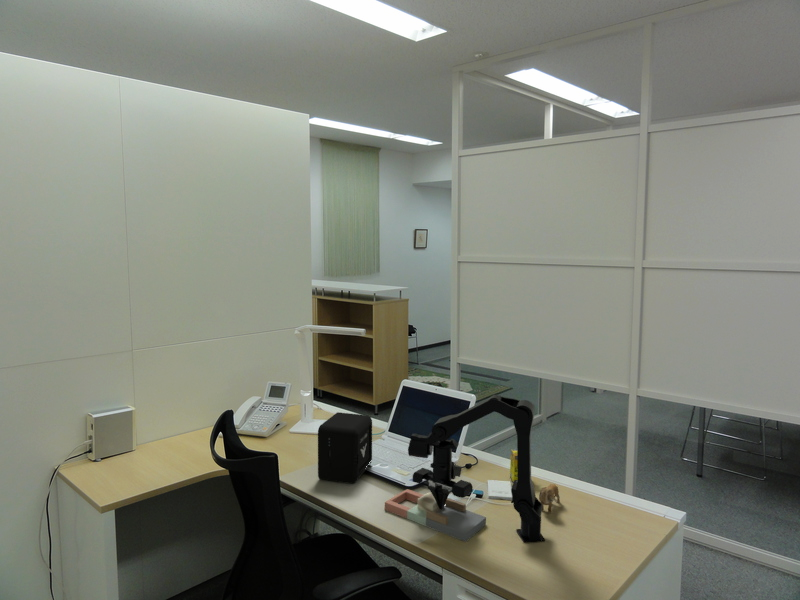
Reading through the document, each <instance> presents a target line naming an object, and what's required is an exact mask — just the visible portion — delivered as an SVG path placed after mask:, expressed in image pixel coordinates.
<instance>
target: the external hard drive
mask: <svg viewBox="0 0 800 600" xmlns="http://www.w3.org/2000/svg"><path fill="white" fill-rule="evenodd" d="M511 482H512V481H510V480H509V481H508V480H496V479H494V480H493V479H487V499H490V498H493V500H494V499H495V500H504V501H512V493H511V489H512V483H511Z"/></svg>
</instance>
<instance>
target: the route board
mask: <svg viewBox="0 0 800 600" xmlns="http://www.w3.org/2000/svg"><path fill="white" fill-rule="evenodd" d="M423 495H424V494H423V493H419V492H417V491H414V490H411V489H408V488H407V489H405V490H402V491H401V492H399V493H398V494H396V495H394V496H392V497H390V499H388V500H386V501H384V510H385V511H387V510H388V511H387V512H389V511H390V513H392V512H393V513H392V514H394V513H395V515H397V514H398V515H397V516H399V515H400V517H402V518H404V517H405V518H404V519H408V520H409V521H412V522H414V523H418V524H420V525H423V526H425V527H428V528H430V529H433V530H434V531H438V532H440V533H441V534H445V535H448V536H450V537H452V538H455V539H458V540H460V541H463V542H464V543H466V542H468V541H469V540H470V539H471V538H473V536H475V535H476V534H477V533H478V532H479V531H481V530H482V529H483V528H484V527H485V526H486V525H487V516H484V515H481V514H478V513H476V512H473V511H470V510H467V509H466V507H467V504H466V503H463V502H460V501H458V500H455V499H452V498H449V497H448V498H447V500H446V503H445V504H446V506H444V508H443V509H442V510H441V509H440V510H439V511H437V512H433V511H431V510H428V511H424V510H421V509H419V508H417V502H418V498H420V497H421V496H423ZM403 500H404V501H405V500H408V501H410V502H412V501H413V502H412V503H415V505H414V506H413V507H409V506H405V505H403V504H400V503H402V502H403ZM398 503H399V504H398Z"/></svg>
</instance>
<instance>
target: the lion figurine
mask: <svg viewBox="0 0 800 600" xmlns="http://www.w3.org/2000/svg"><path fill="white" fill-rule="evenodd" d="M555 499H556V501H555V502H556V503H557V504H560V503H561V500H560V494H559V486H558V485H556V484H554V483H553V484H549V485H548V486H545V487H542V488H541V490H540V491H539V495H538V500H539V501H540V502H541V503H542V505H543V506H542V512H541V513H543V512H544V510H545V509H544V506H548V508H547V512H548V513H549V514H553V511H552V506H553V502H554V500H555Z"/></svg>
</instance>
